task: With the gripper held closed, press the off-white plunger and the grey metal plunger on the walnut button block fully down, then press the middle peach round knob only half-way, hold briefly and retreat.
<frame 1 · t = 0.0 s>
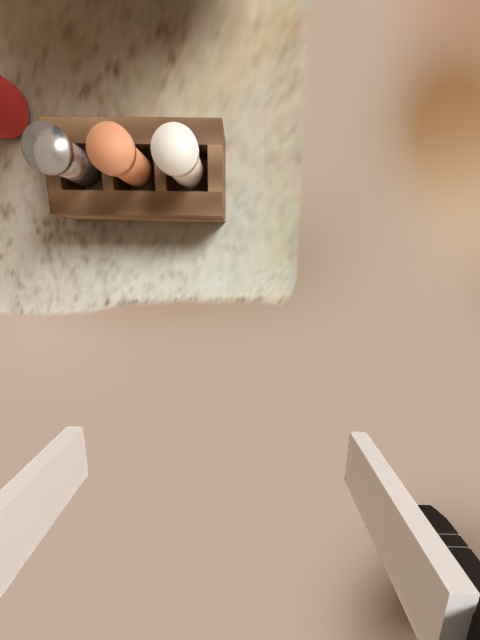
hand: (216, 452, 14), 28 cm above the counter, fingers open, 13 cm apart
plunger white: (182, 161, 29), point 8 cm above the counter, slide at 0.0 cm
peach round knob: (124, 160, 29), point 8 cm above the counter, slide at 0.0 cm
plunger grey: (67, 160, 29), point 8 cm above the counter, slide at 0.0 cm
button block: (150, 182, 37), on the counter
beer can: (8, 113, 35), on the counter
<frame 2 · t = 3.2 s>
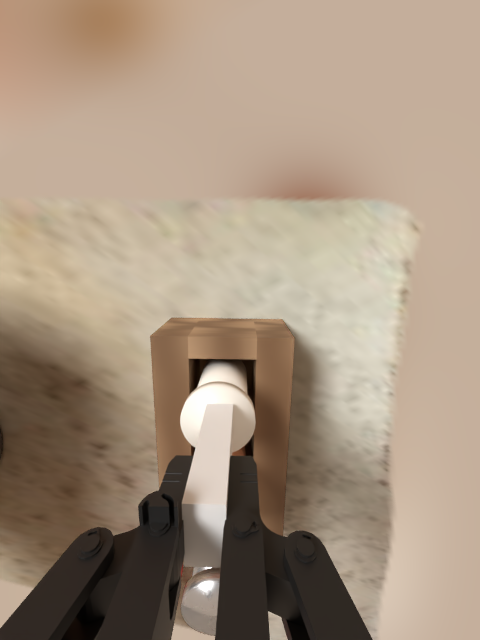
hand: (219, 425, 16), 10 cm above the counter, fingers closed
plunger white: (221, 394, 19), point 7 cm above the counter, slide at 1.6 cm, touching gripper
peach round knob: (220, 484, 19), point 8 cm above the counter, slide at 0.0 cm
plunger grey: (220, 552, 20), point 8 cm above the counter, slide at 0.0 cm
button block: (226, 417, 27), on the counter
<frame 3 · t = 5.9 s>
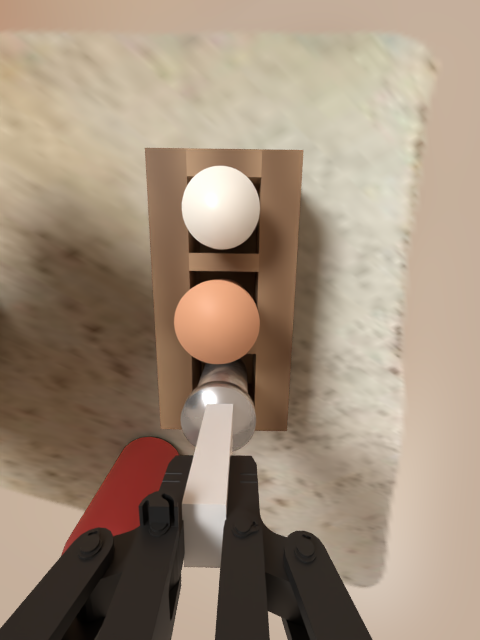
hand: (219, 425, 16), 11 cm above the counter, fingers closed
plunger white: (224, 217, 19), point 5 cm above the counter, slide at 2.8 cm
peach round knob: (221, 311, 17), point 8 cm above the counter, slide at 0.0 cm
plunger grey: (222, 393, 19), point 8 cm above the counter, slide at 0.6 cm, touching gripper
button block: (227, 294, 25), on the counter
beer can: (153, 459, 30), on the counter
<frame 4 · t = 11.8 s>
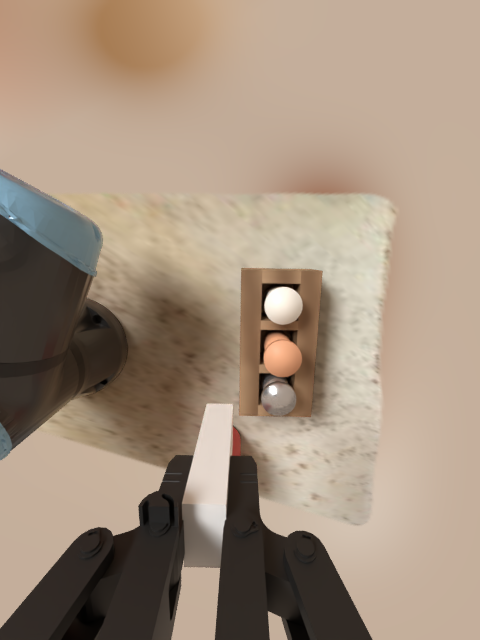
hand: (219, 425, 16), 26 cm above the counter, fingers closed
plunger white: (279, 301, 35), point 5 cm above the counter, slide at 2.8 cm
peach round knob: (279, 350, 35), point 7 cm above the counter, slide at 1.3 cm
plunger grey: (275, 387, 38), point 5 cm above the counter, slide at 2.8 cm
button block: (273, 335, 42), on the counter
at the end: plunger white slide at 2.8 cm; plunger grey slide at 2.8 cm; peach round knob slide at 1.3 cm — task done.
